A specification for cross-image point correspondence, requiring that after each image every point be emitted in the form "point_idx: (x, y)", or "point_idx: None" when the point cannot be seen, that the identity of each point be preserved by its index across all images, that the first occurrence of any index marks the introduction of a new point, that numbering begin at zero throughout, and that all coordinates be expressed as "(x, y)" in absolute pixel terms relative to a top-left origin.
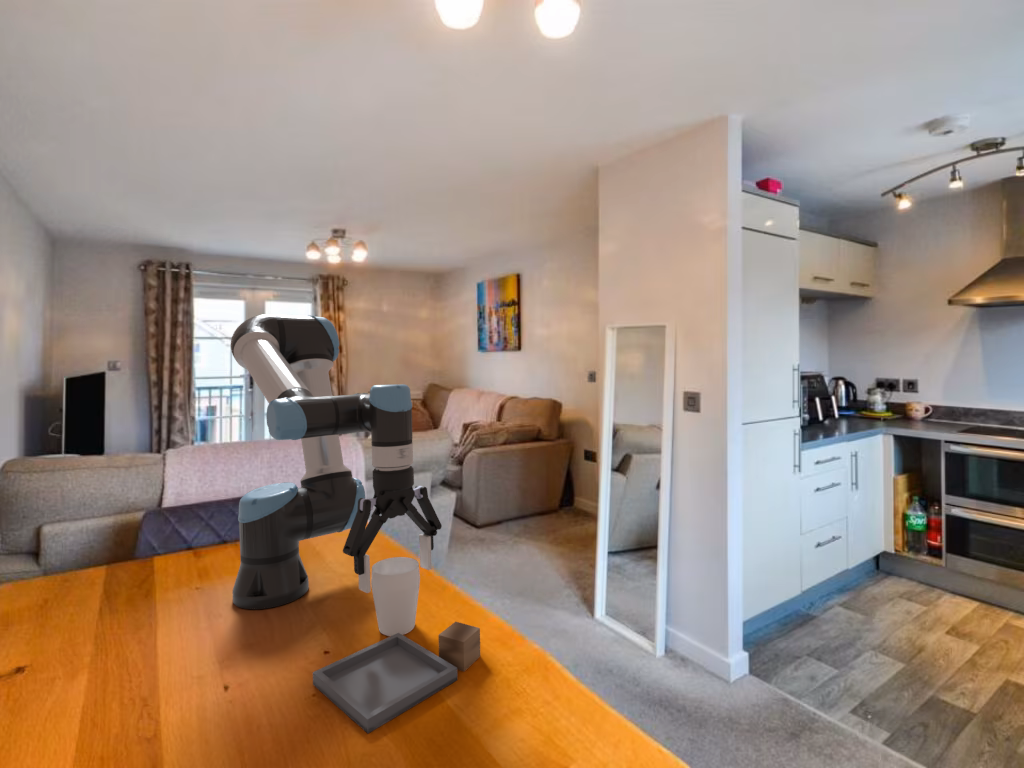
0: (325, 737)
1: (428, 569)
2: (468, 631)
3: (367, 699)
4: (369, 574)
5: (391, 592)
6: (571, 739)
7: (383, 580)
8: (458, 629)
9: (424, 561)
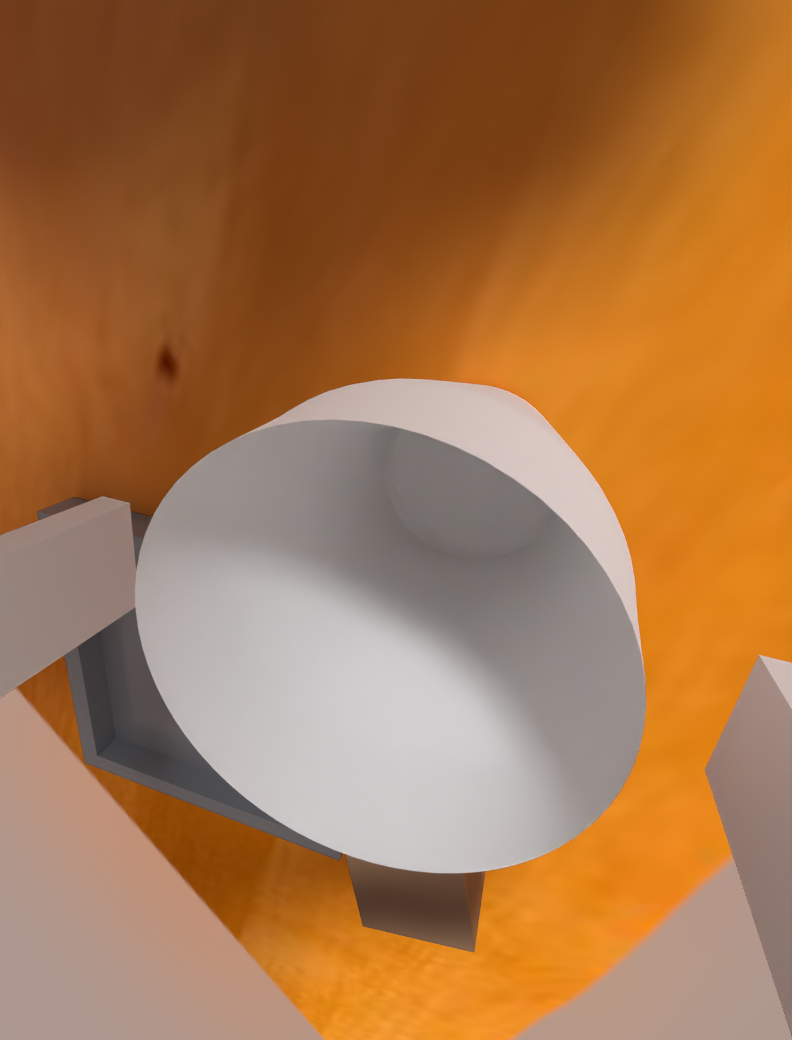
0: (47, 671)
1: (706, 773)
2: (428, 925)
3: (142, 688)
4: (14, 682)
5: (276, 668)
6: (354, 1033)
7: (195, 672)
8: (417, 893)
9: (754, 782)
